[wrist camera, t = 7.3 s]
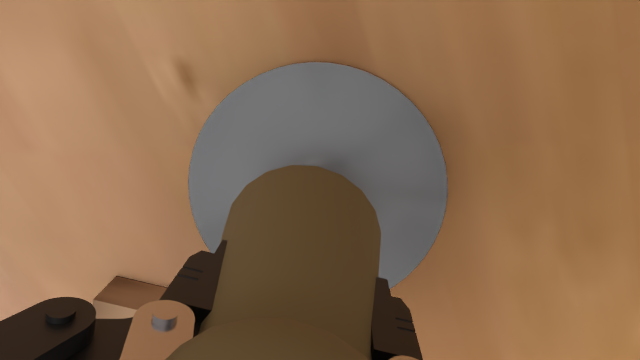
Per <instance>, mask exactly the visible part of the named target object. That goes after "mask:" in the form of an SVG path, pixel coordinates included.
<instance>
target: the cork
mask: <svg viewBox="0 0 640 360" xmlns="http://www.w3.org/2000/svg"><path fill="white" fill-rule="evenodd" d="M223 239H224V240H227V245H226V249H225V254H224V258H223V263H222V267H221V272H220V276H219V281H218V285H217V290H216V294H215V299H214V303H213V308H212V311H211V312H210V313H209V314H208V316H207V317H206V318H205V319H204V320H203V322H202V323H201V326H200V330H199V333H198V335H197V336H195V337H193V338H192V339H190V340H188V341H187V342H185V343H183V344H181V345H180V346H179V347H178V348H177V349H176V350H175V351H174V352H173V353H172V354H171V355H169V356H168V357H167V358H166V359H165V360H372V357H371V321H372V312H373V302H374V293H375V283H376V277H379V261H380V245H381V230H380V226H379V222H378V218H377V215H376V211H375V209H374V208H373V206H372V205H371V203H370V202H369V200H368V199H367V197H366V196H365V194H364V193H363V191H362V190H361V189H360V188H358V187H357V186H356V185H354V184H353V183H352V182H350V181H349V180H348V179H347V178H345V177H344V176H343V175H341V174H338V173H335V172H333V171H330V170H327V169H324V168H321V167H319V166H305V165H289V166H286V167H282V168H278V169H274V170H271V171H267V172H265V173H264V174H262V175H261V176H259V177H258V178H256V179H255V180H253V181H252V182H250V183H249V184H247V185H246V186H245V187H244V189H243V190H242V191H241V193H240V194H239V195H238V196H237V198H236V199H235V200H234V202H233V203H232V205H231V208H230V211H229V214H228V218H227V221H226V224H225V227H224V231H223V234H222V238H221V241H222V240H223ZM221 241H220V243H221Z"/></svg>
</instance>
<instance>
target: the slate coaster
mask: <svg viewBox="0 0 640 360" xmlns="http://www.w3.org/2000/svg"><path fill="white" fill-rule="evenodd" d="M289 165H305V166H319V167H321V168H324V169H327V170H330V171H333V172H335V173H338V174H341V175H343V176H344V177H345V178H347V179H348V180H349V181H350V182H352V183H353V184H354V185H356V186H357V187H358V188H360V189H361V190H362V191H363V193H364V194H365V196H366V197H367V199H368V200H369V202H370V203H371V205H372V206H373V208H374V209H375V211H376V215H377V218H378V222H379V226H380V230H381V245H380V261H379V277H380V278H384V279H387V280H388V284H389V289H390V288H392V287H394V286H395V285H396V284H398V283H399V282H400V281H402V280H403V279H404V278H406V277H407V276H408V275H409V274H410V273H411V272H412V271H413V270H414V269H415V268H416V267H417V266H418V265H419V263H420V262H421V261H422V260H423V258H424V257H425V256H426V255H427V253H428V251H429V250H430V248H431V246H432V245H433V243H434V241H435V239H436V237H437V235H438V232H439V230H440V228H441V225H442V221H443V218H444V214H445V210H446V202H447V173H446V166H445V161H444V157H443V154H442V151H441V147H440V145H439V143H438V140H437V138H436V136H435V134H434V132H433V130H432V128H431V127H430V125H429V123H428V122H427V120H426V119H425V117H424V116H423V115H422V113H421V112H420V111H419V110H418V109H417V108H416V106H415V105H414V104H413V103H412V102H411V101H410V100H409V99H408V98H407V97H405V96H404V95H403V94H402V93H401V92H400V91H399V90H397V89H396V88H395V87H393V86H392V85H390V84H389V83H387V82H386V81H384V80H383V79H381V78H379V77H377V76H375V75H373V74H371V73H369V72H367V71H364V70H361V69H358V68H355V67H352V66H348V65H343V64H337V63H332V62H304V63H295V64H291V65H287V66H282V67H278V68H275V69H273V70H270V71H268V72H265V73H262V74H260V75H258V76H256V77H254V78H252V79H251V80H249V81H247V82H245V83H243V84H242V85H241V86H239V87H238V88H237V89H235V90H234V91H233V92H231V93H230V94H229V95H228V96H227V97H226V98H225V99H224V100H223V101H222V102H221V103H220V104H219V105H218V106H217V107H216V108H215V110H214V111H213V112H212V114H211V115H210V116H209V118H208V119H207V121H206V123H205V124H204V126H203V128H202V130H201V132H200V133H199V136H198V138H197V141H196V144H195V146H194V149H193V153H192V157H191V162H190V167H189V180H188V184H189V199H190V204H191V209H192V214H193V217H194V220H195V223H196V226H197V228H198V230H199V233H200V235H201V237H202V239H203V241H204V243H205V244H206V246H207V247H208V249H209V250H210V252H211V253H215V251H216V250H217V248H218V246H219V245H220V241H221V238H222V234H223V231H224V227H225V224H226V221H227V218H228V214H229V211H230V208H231V205H232V203H233V202H234V200H235V199H236V198H237V196H238V195H239V194H240V193H241V191H242V190H243V189H244V187H245V186H246V185H247V184H249V183H250V182H252V181H253V180H255V179H256V178H258V177H259V176H261V175H262V174H264V173H265V172H267V171H271V170H274V169H278V168H282V167H286V166H289Z"/></svg>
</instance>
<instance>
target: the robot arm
mask: <svg viewBox="0 0 640 360" xmlns="http://www.w3.org/2000/svg"><path fill="white" fill-rule="evenodd" d="M226 245H227V240H224V239H223V240H222V241H221V243H220V245H219V246H218V248H217V250H216V251H215V253H210V252H206V251H200V252H198V253H196V254H194V255H192V256H190V257H189V258H188V260H187V261H186V263H185V264H184V265H183V268H181V270H180V271H179V272H178V274H177V276H176V277H175V278H174V279H173V281H172V282H171V284H170V285H169V287H168V288H167V289H166V291H165V292H164V294H163V295H162V296H161V298H160V299H159V300H158V301H153V302H149V303H147V304H145V305H143V306H141V307H140V308H139V309H138V310H137V311H136V312H135V314H134V317H131V318H124V319H96V309H95V308H94V306H93V305H92V304H91V303H89V302H88V301H85V300H83V299H80V298H74V297H59V298H53V299H49V300H45V301H43V302H40V303H38V304H36V305H34V306H32V307H29V308H27V309H25V310H23V311H21V312H19V313H17V314H15V315H13V316H11V317H9V318H6V319H4V320H2V321H0V360H165V359H166V358H167V357H168V356H169V355H171V354H172V353H173V352H174V351H175V350H176V349H177V348H178V347H179V346H180V345H181V344H183V343H185V342H187V341H188V340H190V339H192V338H193V337H195V336H197V335H198V333H199V330H200V326H201V323H202V322H203V320H204V319H205V318H206V317H207V316H208V314H209V313H210V312H211V311H212V308H213V303H214V299H215V294H216V290H217V285H218V281H219V276H220V272H221V267H222V263H223V258H224V254H225V249H226ZM412 322H413V321H412V317H411V313H410V310H409V308H408V307H407V306H406V305H405V303H404V302H403V301H402V300H401V299H400V298H396V297H392V296H391V294H390V289H389V284H388V280H387V279H384V278H380V277H376V283H375V293H374V302H373V312H372V321H371V357H372V360H423V358H422V355H421V351H420V347H419V343H418V339H417V336H416V333H415V328H414V324H413V323H412Z"/></svg>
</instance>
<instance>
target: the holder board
mask: <svg viewBox="0 0 640 360" xmlns="http://www.w3.org/2000/svg"><path fill="white" fill-rule="evenodd" d="M166 289H167V288H165V287H161V286H156V285H152V284H148V283H144V282H139V281H135V280H131V279H127V278H123V277H118V276H116V277H115V278H114V279H113V280H112V281H111V282H110V283H109V284H108V285H107V286H106V287H105V288H104V289H103V290H102V291H101V292H100V293H99V294H98V295H97V296H96V297H95V298H94V299H93V306H94V308H95V309H96V319H124V318H131V317H134V314H135V312H136V311H137V310H138V309H139V308H140V307H141V306H143V305H145V304H147V303H149V302H153V301H158V300H159V299H160V298H161V296H162V295H163V294H164V292H165V291H166Z"/></svg>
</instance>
